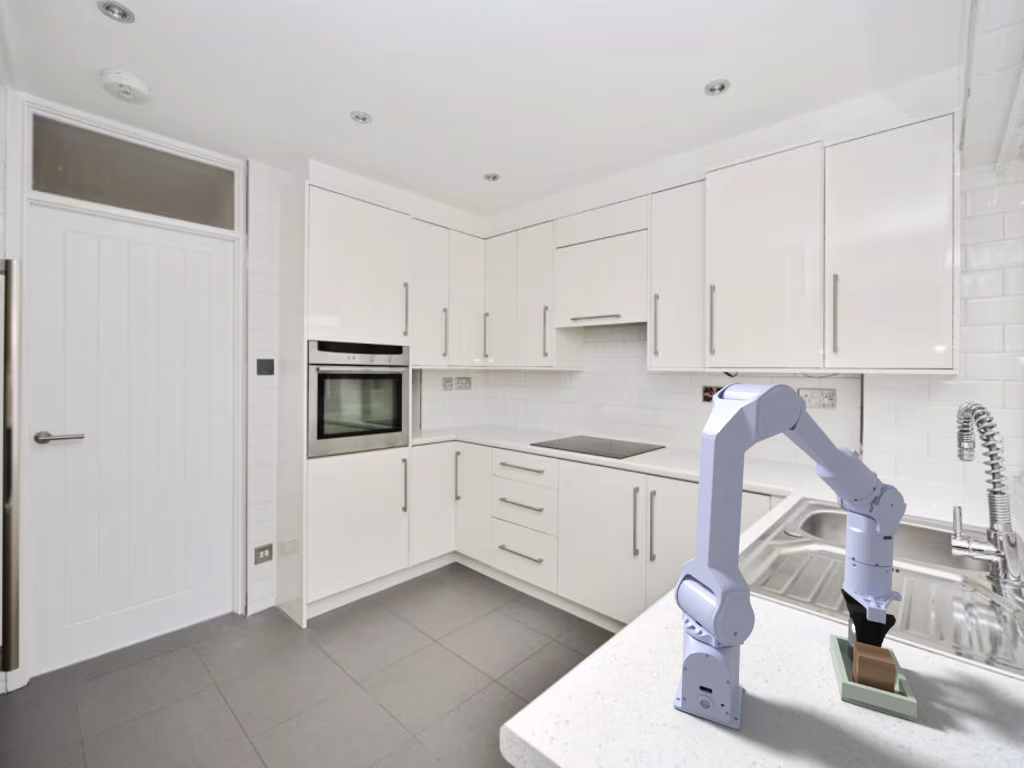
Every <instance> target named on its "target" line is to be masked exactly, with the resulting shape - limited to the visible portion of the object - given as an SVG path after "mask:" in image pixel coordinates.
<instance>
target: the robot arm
mask: <svg viewBox="0 0 1024 768" xmlns="http://www.w3.org/2000/svg"><path fill="white" fill-rule="evenodd" d="M711 405H712V406H711V413H710V414H709V417H708V418H707V421H706V423H705V425H704V427H703V429H702V432H701V437H700V439H701V440H700V455H699V473H698V474H699V475H698V494H697V495H698V496H697V510H696V511H697V512H696V531H695V548H694V551H695V553H694V557H692V558H690V559H688V560H687V561H685V562H683V563H682V564H681V572H680V575H679V579H678V581H677V583H676V585H675V588H674V600H675V604H676V605H677V606H678V608H679V609H680V610H681V611H682V615H681V616H682V617H681V619H682V621H683V640H682V641H683V642H682V643H683V645H682V666H681V675H680V679H679V682H678V685H677V689H676V692H675V695H674V699H673V702H672V706H673V708H674V709H676V710H679V711H682V712H685V713H688V714H691V715H694V716H696V717H699V718H703V719H705V720H708V721H711V722H714V723H717V724H720V725H723V726H726V727H728V728H732V729H734V730H739V729H740V727H741V726H740V725H741V715H742V714H741V713H742V703H743V689H744V686H743V684H742V683H740V664H741V663H740V662H741V658H740V657H741V645H744V644H745V643H744V642H745V641H747V639H749V638H750V636H751V634H752V632H753V629H754V628H755V627H754V626H755V622H756V615H755V611H754V609H753V607H752V604H751V589H750V587H749V584H748V583H747V581H746V579H745V577H744V576H743V573H742V572H741V570H740V568H739V559H740V544H741V543H740V538H741V525H742V524H741V523H742V522H741V519H742V506H743V504H742V502H743V487H744V486H743V485H744V483H743V482H744V467H745V454H746V452H747V451H748V450H749V449H751V448H752V447H753V446H754V445H756V444H757V443H760V442H762V441H765V440H767V439H769V438H771V437H774V436H777V435H780V434H781V433H782V434H783V435H784V436H786V437H787V438H788V439H789V440H790V441H791V442H792V443H793V444H794V445H796V446H797V447H798V448H799V449H800V450H802V452H804V453H805V454H806V455H807V456H808V457H810V459H811V460H813V461H814V463H813V470H814V473H815V474H816V475H817V476H818V477H819V478H820V479H821V480H822V481H823V482H824V483H825V484H826V485H827V486H828V487H829V488H830V489H831V490H833V492H834V493H835V495H836V502H837V504H838V507H839V508H840V509H842V510H843V511H845V512H846V528H845V529H846V530H845V533H846V534H845V552H844V553H845V558H844V579H843V580H844V581H842V588H841V589H840V592H841V594H842V597H843V598H844V600H845V603H846V604H845V606H846V609H847V611H848V615H849V618H852V620H853V623H854V628H855V634H856V642H860V643H864V644H868V645H872V646H876V647H881V646H883V642H884V641H885V638H886V635H887V634H888V633H889V631H890V630H891V629H892V628H893V627H894V626H895V625H896V622H897V619H896V617H895V615H894V614H890V613H887V609H888V607H889V606H890V605H891V604H892V602H893V601H896V602H903V601H902V600H903V596H902V595H901V593H900V592H899V591H895V590H893V589H892V588H893V564H894V543H895V541H894V540H895V539H894V538H895V536H897V534H898V532H899V531H900V523H901V520H902V519H903V517H904V516H905V513H906V510H907V503H906V502H905V499H904V496H903V494H902V493H901V492H900V491H899V490H898V488H896V487H895V486H894V485H892V484H887V483H884V482H882V481H881V479H880V477H878V474H877V473H876V472H875V470H871V469H870V468H869V467H868V466H867V465H866V464H865V463H864V462H863V461H862V460H861V459H860V458H859V457H860V454H859V453H858V451H857V450H856V449H852V448H848V447H844V446H836V445H835V443H833V440H831V439H830V438H829V436H828V435H827V434H826V432H825V431H824V430H823V429H822V428H821V426H819V424H818V423H817V422H816V421H815V420H814V419H813V417H812V416H811V415H810V413H808V411H807V401H806V400H805V398H803V397H801V396H800V395H799V394H798V393H797V391H796V390H795V389H794V387H791V386H790V385H788V384H785V383H775V384H763V383H762V384H760V383H759V384H757V383H743V382H742V383H741V382H731V383H728V384H727V385H725V386H724V387H722V388H721V389H720V390H719V391H716V393H714V394H713V395H712V403H711Z"/></svg>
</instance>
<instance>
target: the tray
mask: <svg viewBox="0 0 1024 768" xmlns="http://www.w3.org/2000/svg"><path fill="white" fill-rule="evenodd" d="M881 648H885V649H889V651H890V654H891V656H892V658H893V660H894V662H895V688H894V693H890V692H887V691H883V690H880V689H876V688H872V687H869V686H865V685H861V684H858V683H854V682H853V661H852V660H850V659H849V657H848V637H844V636H841V635H835V634H833V633H832V634H831V633H830V634H829V653H830V657H831V661H832V665H833V670H834V674H835V679H836V683H837V687H838V690H839V691H838V692H839V696H840V700H841V701H843V702H846V703H850V704H854V705H856V706H860V707H864V708H866V709H870V710H874V711H876V712H881V713H884V714H887V715H891V716H894V717H898V718H901V719H904V720H907V721H911V722H914V723H917V720H918V702H917V699H916V697H915V695H914V692H913V691H912V688H911V686H910V684H909V682H908V680H907V678H906V675H905V674H904V672H903V669H902V667H901V665H900V663H899V660H898V659H897V657H896V654H895V652H894V650H893V648H890V647H886V646H883V645H882V646H881Z"/></svg>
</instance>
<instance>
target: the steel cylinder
mask: <svg viewBox="0 0 1024 768" xmlns="http://www.w3.org/2000/svg"><path fill="white" fill-rule="evenodd" d="M847 629H848V630H847V631H848V633H847V638H848V657H849V659H850V660H852V661H853V652H854V641H856V634H855V628H854V623H853V620H852V618H850V617H849V619H848V628H847Z"/></svg>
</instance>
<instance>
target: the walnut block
mask: <svg viewBox="0 0 1024 768" xmlns="http://www.w3.org/2000/svg"><path fill="white" fill-rule="evenodd" d="M853 682H854V683H858V684H861V685H865V686H869V687H872V688H876V689H880V690H883V691H887V692H890V693H894V688H895V662H894V660H893V658H892V656H891V654H890V651H889V649H885V648H881V647H876V646H872V645H868V644H864V643H860V642H856V641H854V652H853Z"/></svg>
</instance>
